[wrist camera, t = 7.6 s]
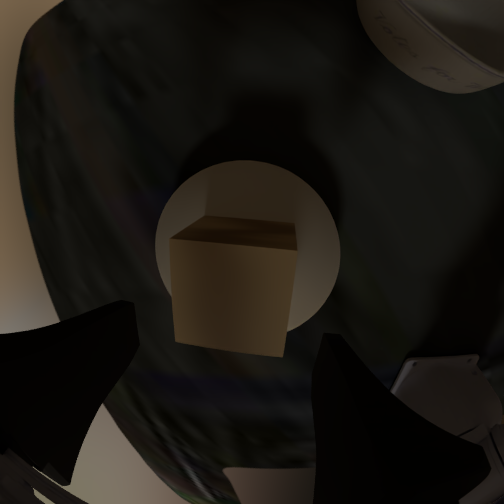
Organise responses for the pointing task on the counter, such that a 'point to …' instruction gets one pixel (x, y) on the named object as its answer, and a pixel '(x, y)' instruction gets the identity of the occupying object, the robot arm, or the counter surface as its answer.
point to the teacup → (440, 40)
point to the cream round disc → (260, 208)
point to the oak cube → (233, 283)
